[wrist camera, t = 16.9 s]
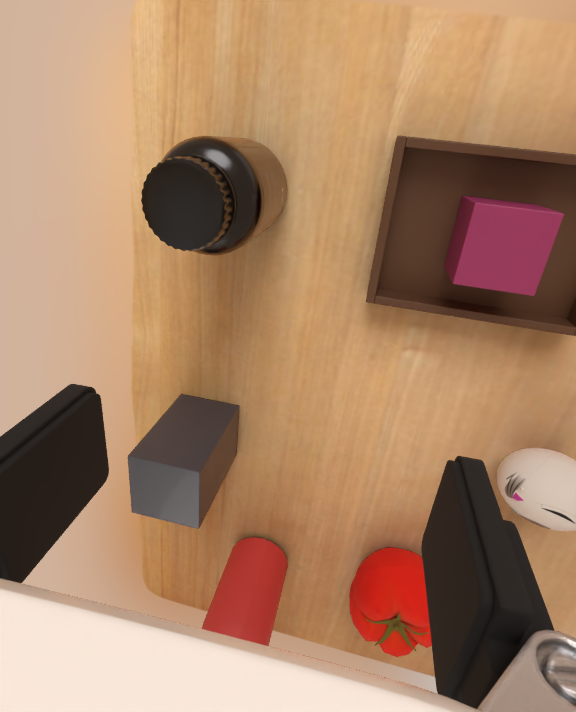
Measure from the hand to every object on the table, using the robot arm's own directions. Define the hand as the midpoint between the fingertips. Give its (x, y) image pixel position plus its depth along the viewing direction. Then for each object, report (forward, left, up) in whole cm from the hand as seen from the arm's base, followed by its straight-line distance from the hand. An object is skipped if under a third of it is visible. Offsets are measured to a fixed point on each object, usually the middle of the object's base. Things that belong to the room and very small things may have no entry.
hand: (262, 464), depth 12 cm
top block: (+7, +8, -25) cm, 27 cm away
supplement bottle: (-9, 0, -26) cm, 27 cm away
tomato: (+25, -22, -26) cm, 42 cm away
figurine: (+24, -3, -26) cm, 35 cm away
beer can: (+14, -32, -26) cm, 44 cm away
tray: (+7, +8, -26) cm, 27 cm away
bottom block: (0, -21, -26) cm, 33 cm away
